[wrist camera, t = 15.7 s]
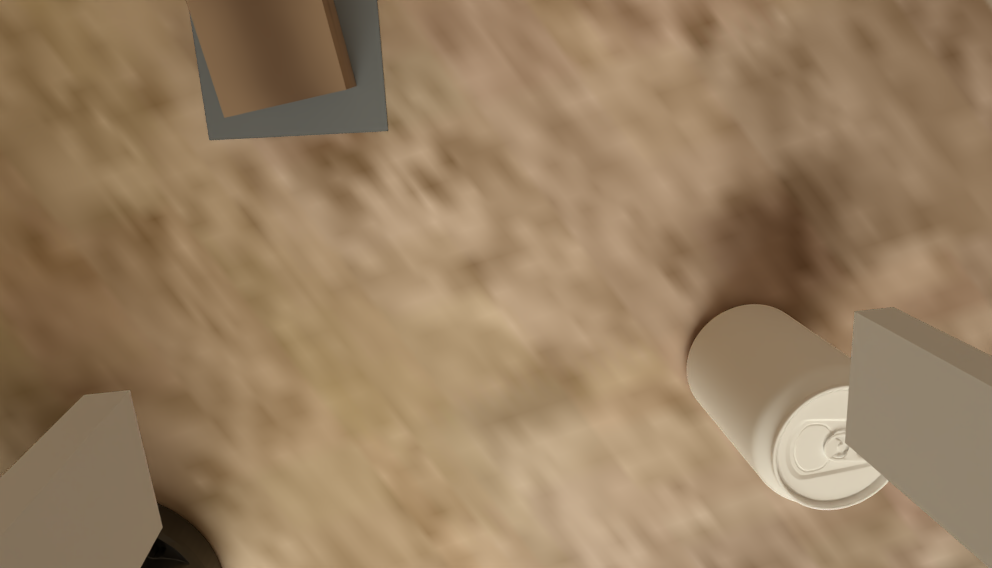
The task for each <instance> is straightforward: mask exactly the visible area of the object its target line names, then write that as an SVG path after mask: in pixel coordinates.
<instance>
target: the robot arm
mask: <svg viewBox="0 0 992 568" xmlns="http://www.w3.org/2000/svg"><path fill="white" fill-rule="evenodd" d="M845 443H846V444H847V445H848V446H849V447H850V448H852V449H853V450H854V451H855V452H856V453H857V454H858V455H860V456H861V457H862V458H863V459H864V460H865V461H867V462H868V463H869V464H870V465H871V466H872V467H873V468H875V469H876V470H877V471H878V472H879V473H880V474H882V475H883V476H884V477H885V478H886V479H887V480H888V481H890V482H891V483H892V484H893V485H894V486H895V487H897V488H898V489H899V490H900V491H901V492H902V493H903V494H905V495H906V496H907V497H908V498H909V499H910V500H912V501H913V502H914V503H915V504H916V505H917V506H918V507H920V508H921V509H922V510H923V511H924V512H925V513H926V514H928V515H929V516H930V517H931V518H932V519H933V520H935V521H936V522H937V523H938V524H939V525H940V526H941V527H943V528H944V529H945V530H946V531H947V532H948V533H950V534H951V535H952V536H953V537H954V538H955V539H956V540H958V541H959V542H960V543H961V544H962V545H963V546H965V547H966V548H967V549H968V550H969V551H970V552H971V553H973V554H974V555H975V556H976V557H977V558H978V559H980V560H981V561H982V562H983V563H984V564H985V565H986V566H988V567H989V568H992V356H991V355H989V354H987V353H985V352H983V351H981V350H979V349H977V348H975V347H973V346H970V345H968V344H966V343H964V342H962V341H960V340H958V339H956V338H954V337H952V336H950V335H948V334H946V333H944V332H942V331H940V330H938V329H936V328H934V327H932V326H930V325H928V324H926V323H924V322H922V321H920V320H918V319H916V318H914V317H912V316H910V315H908V314H906V313H904V312H902V311H900V310H898V309H896V308H894V307H890V308H881V309H872V310H862V311H855V313H854V326H853V339H852V353H851V366H850V379H849V393H848V406H847V419H846V433H845ZM0 568H221V566H220V563H219V561H218V559H217V557H216V555H215V553H214V551H213V550H212V548H211V546H210V545H209V543H208V542H207V541H206V539H205V538H204V537H203V536H202V535H201V534H200V532H199V531H197V530H196V529H195V528H194V527H193V526H192V525H191V524H190V523H189V522H188V521H186V520H185V519H184V518H182V517H181V516H179V515H178V514H176V513H175V512H173V511H171V510H169V509H168V508H166V507H164V506H162V505H160V504H157V501H156V497H155V493H154V489H153V485H152V480H151V476H150V472H149V468H148V464H147V459H146V455H145V451H144V447H143V443H142V438H141V434H140V430H139V426H138V422H137V418H136V413H135V409H134V405H133V401H132V397H131V392H130V390H125V391H115V392H106V393H97V394H88V395H83V396H82V397H81V398H80V399H79V400H78V401H77V402H76V403H75V404H74V405H73V406H72V407H71V408H70V409H69V410H68V411H67V412H66V413H65V414H64V415H63V416H62V417H61V418H60V419H59V420H58V421H57V422H56V423H55V424H54V425H53V426H52V427H51V428H50V429H49V430H48V431H47V432H46V433H45V434H44V435H43V436H42V437H41V438H40V439H39V440H38V441H37V442H36V443H35V444H34V445H33V446H32V447H31V448H30V449H29V450H28V451H27V452H26V453H25V454H24V455H23V456H22V457H21V458H20V459H19V460H18V461H17V462H16V463H15V464H14V465H13V466H12V467H11V468H10V469H9V470H8V471H6V472H5V473H4V474H3V475H2V476H1V477H0Z"/></svg>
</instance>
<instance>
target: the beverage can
mask: <svg viewBox="0 0 992 568" xmlns="http://www.w3.org/2000/svg"><path fill="white" fill-rule="evenodd" d="M850 366H851V358H850V357H849V356H847V355H846V354H844V353H843V352H842V351H840V350H839V349H837V348H836V347H834V346H833V345H831V344H830V343H828V342H827V341H825V340H824V339H823V338H821V337H820V336H818V335H817V334H815V333H814V332H812V331H811V330H809V329H808V328H807V327H805V326H804V325H802V324H801V323H799V322H798V321H796V320H795V319H793V318H792V317H790V316H789V315H788V314H786V313H784V312H783V311H781V310H779V309H777V308H774V307H771V306H768V305H762V304H748V305H742V306H737V307H734V308H731V309H729V310H726V311H724V312H722V313H721V314H719V315H717V316H716V317H715V318H713V319H712V320H711V321H710V322H708V323H707V324H706V325H705V326H704V327H703V329H702V330H701V331H700V332H699V334H698V335H697V337H696V338H695V340H694V342H693V344H692V346H691V348H690V351H689V354H688V359H687V368H686V371H687V380H688V384H689V387H690V389H691V392H692V393H693V395H694V397H695V398H696V400H697V401H698V402H699V403H700V405H701V406H702V407H703V408H704V410H705V411H706V412H707V413H708V414H709V416H710V417H711V418H712V419H713V421H714V422H715V423H716V424H717V425H718V427H719V428H720V429H721V430H722V432H723V433H724V434H725V435H726V436H727V438H728V439H729V440H730V441H731V442H732V444H733V445H734V446H735V447H736V449H737V450H738V451H739V452H740V453H741V455H742V456H743V457H744V458H745V460H746V461H747V462H748V463H749V464H750V466H751V467H752V468H753V469H754V471H755V472H756V473H757V474H758V475H759V477H760V478H761V479H762V480H763V481H764V483H765V484H766V485H767V486H768V487H769V488H770V489H772V490H773V491H774V492H776V493H777V494H779V495H781V496H782V497H784V498H787V499H789V500H792V501H795V502H797V503H799V504H801V505H804V506H806V507H809V508H813V509H819V510H835V509H842V508H846V507H850V506H853V505H855V504H858V503H860V502H862V501H864V500H866V499H868V498H869V497H871V496H872V495H874V494H875V493H877V492H878V491H879V490H880V489H881V488H882V487H884V486H885V485H886V484H887V483H888V480H887V479H886V478H885V477H884V476H883V475H882V474H880V473H879V472H878V471H877V470H876V469H875V468H873V467H872V466H871V465H870V464H869V463H868V462H867V461H865V460H864V459H863V458H862V457H861V456H860V455H858V454H857V453H856V452H855V451H854V450H853V449H852V448H850V447H849V446H848V445H847V444H846V443H845V433H846V419H847V406H848V393H849V379H850Z"/></svg>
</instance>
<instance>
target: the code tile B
mask: <svg viewBox="0 0 992 568" xmlns="http://www.w3.org/2000/svg"><path fill="white" fill-rule="evenodd" d="M334 4H335V7H336V11H337V15H338V18H339V22H340V26H341V30H342V33H343V37H344V41H345V44H346V48H347V52H348V55H349V59H350V63H351V67H352V70H353V74H354V78H355V81H356V85H357V86H355V87H352V88H350V89H347V90H343V91H338V92H334V93H330V94H325V95H321V96H317V97H312V98H308V99H304V100H299V101H295V102H291V103H286V104H282V105H278V106H273V107H269V108H265V109H260V110H256V111H252V112H247V113H243V114H239V115H234V116H230V117H226V118H224V115H223V112H222V109H221V106H220V103H219V100H218V97H217V94H216V91H215V88H214V85H213V82H212V79H211V76H210V72H209V69H208V66H207V63H206V60H205V57H204V54H203V51H202V48H201V45H200V42H199V39H198V36H197V33H196V30H195V27H194V24H193V21H192V18H191V15H190V19H191V25H192V32H193V38H194V44H195V51H196V57H197V64H198V70H199V77H200V83H201V89H202V96H203V102H204V109H205V115H206V122H207V128H208V135H209V140H223V139H242V138H262V137H281V136H300V135H320V134H339V133H358V132H378V131H388V124H387V112H386V101H385V89H384V77H383V65H382V53H381V41H380V29H379V18H378V6H377V0H334ZM189 12H190V11H189Z"/></svg>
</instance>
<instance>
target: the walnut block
mask: <svg viewBox="0 0 992 568" xmlns="http://www.w3.org/2000/svg"><path fill="white" fill-rule="evenodd" d="M186 2H187V5H188V8H189V11H190V15H191V18H192V21H193V24H194V27H195V30H196V33H197V36H198V39H199V42H200V45H201V48H202V51H203V54H204V57H205V60H206V63H207V66H208V69H209V72H210V76H211V79H212V82H213V85H214V88H215V91H216V94H217V97H218V100H219V103H220V106H221V109H222V112H223V115H224V118H226V117H230V116H234V115H239V114H243V113H247V112H252V111H256V110H260V109H265V108H269V107H273V106H278V105H282V104H286V103H291V102H295V101H299V100H304V99H308V98H312V97H317V96H321V95H325V94H330V93H334V92H338V91H343V90H347V89H350V88H352V87H355V86H357V85H356V81H355V78H354V74H353V70H352V67H351V63H350V59H349V55H348V52H347V48H346V44H345V41H344V37H343V33H342V30H341V26H340V22H339V18H338V15H337V11H336V7H335V4H334V0H186Z"/></svg>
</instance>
